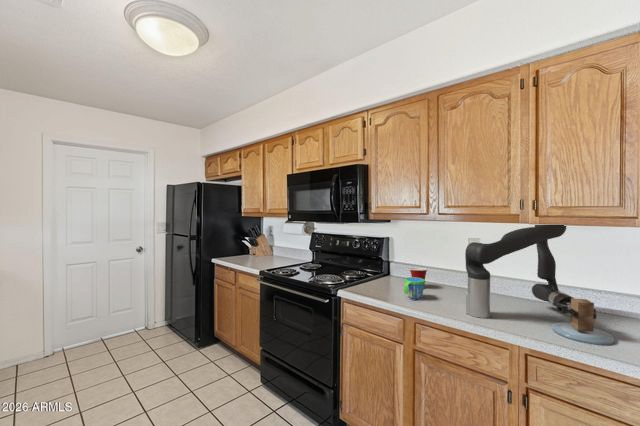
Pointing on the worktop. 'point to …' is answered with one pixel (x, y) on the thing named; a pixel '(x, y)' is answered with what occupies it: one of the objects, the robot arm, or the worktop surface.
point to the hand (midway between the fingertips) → (586, 315)
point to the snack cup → (414, 287)
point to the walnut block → (583, 315)
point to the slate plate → (583, 334)
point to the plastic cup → (418, 272)
